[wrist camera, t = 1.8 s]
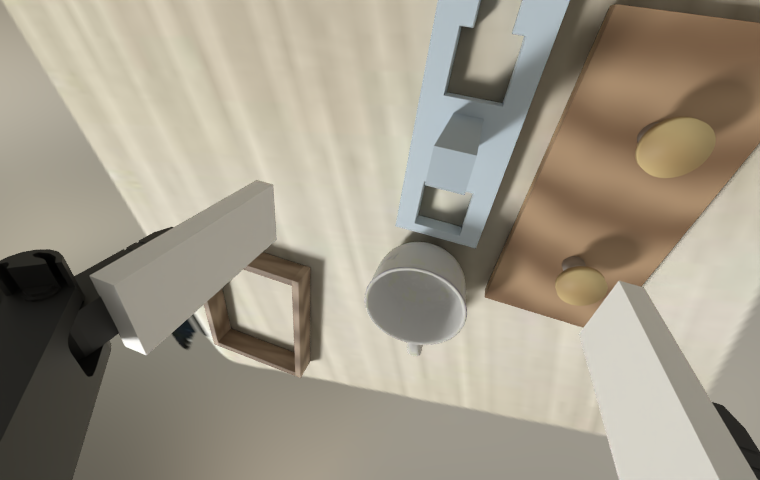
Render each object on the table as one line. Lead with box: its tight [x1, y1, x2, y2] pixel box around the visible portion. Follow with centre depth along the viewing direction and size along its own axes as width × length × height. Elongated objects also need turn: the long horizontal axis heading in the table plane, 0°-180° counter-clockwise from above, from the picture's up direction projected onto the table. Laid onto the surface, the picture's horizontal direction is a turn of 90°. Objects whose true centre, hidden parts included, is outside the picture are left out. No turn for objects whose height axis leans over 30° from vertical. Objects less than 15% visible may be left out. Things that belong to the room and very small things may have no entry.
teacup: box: [365, 242, 467, 356], centre depth 37 cm, size 14×11×8 cm
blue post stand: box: [396, 0, 570, 249], centre depth 24 cm, size 24×9×12 cm, turn 172°
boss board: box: [485, 4, 760, 328], centre depth 27 cm, size 28×13×5 cm, turn 172°
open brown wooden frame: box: [204, 252, 311, 378], centre depth 53 cm, size 23×18×4 cm
